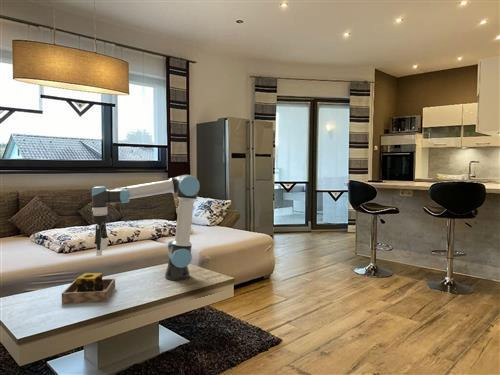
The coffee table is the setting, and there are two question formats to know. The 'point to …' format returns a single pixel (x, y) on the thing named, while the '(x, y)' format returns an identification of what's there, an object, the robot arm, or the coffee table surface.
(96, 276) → the candle
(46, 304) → the coffee table surface
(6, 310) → the coffee table surface
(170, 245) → the robot arm
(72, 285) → the crate
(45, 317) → the coffee table surface
